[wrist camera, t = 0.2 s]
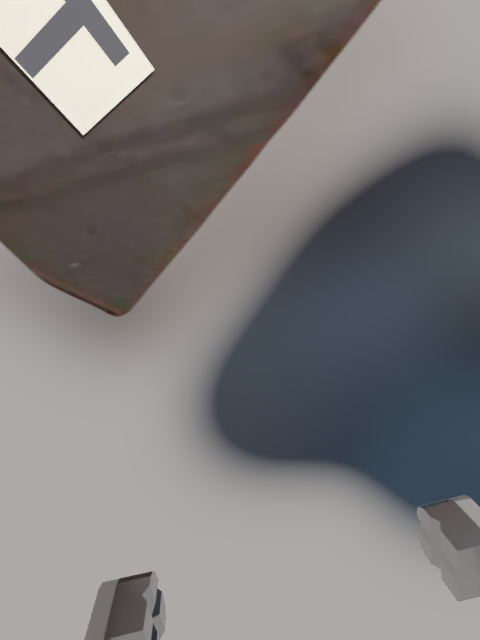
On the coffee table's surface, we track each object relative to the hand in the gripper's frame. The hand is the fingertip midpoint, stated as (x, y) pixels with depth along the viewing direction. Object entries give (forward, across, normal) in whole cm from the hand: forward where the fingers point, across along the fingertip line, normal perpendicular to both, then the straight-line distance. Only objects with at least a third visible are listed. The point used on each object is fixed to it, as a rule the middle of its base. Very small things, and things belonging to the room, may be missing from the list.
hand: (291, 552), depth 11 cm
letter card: (+43, +12, -34) cm, 56 cm away
